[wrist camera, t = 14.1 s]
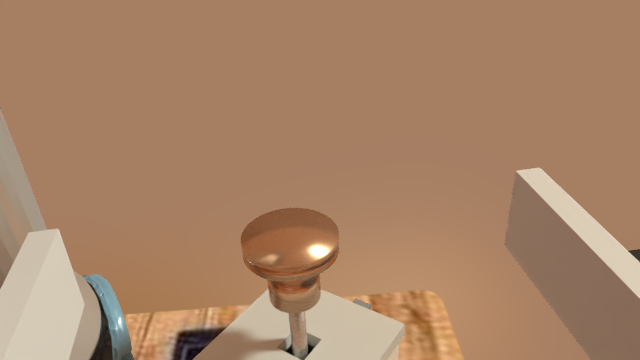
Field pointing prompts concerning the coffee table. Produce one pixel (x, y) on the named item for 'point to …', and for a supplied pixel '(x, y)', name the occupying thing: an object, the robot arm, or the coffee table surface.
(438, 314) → the coffee table surface
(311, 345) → the press
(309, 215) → the plunger
